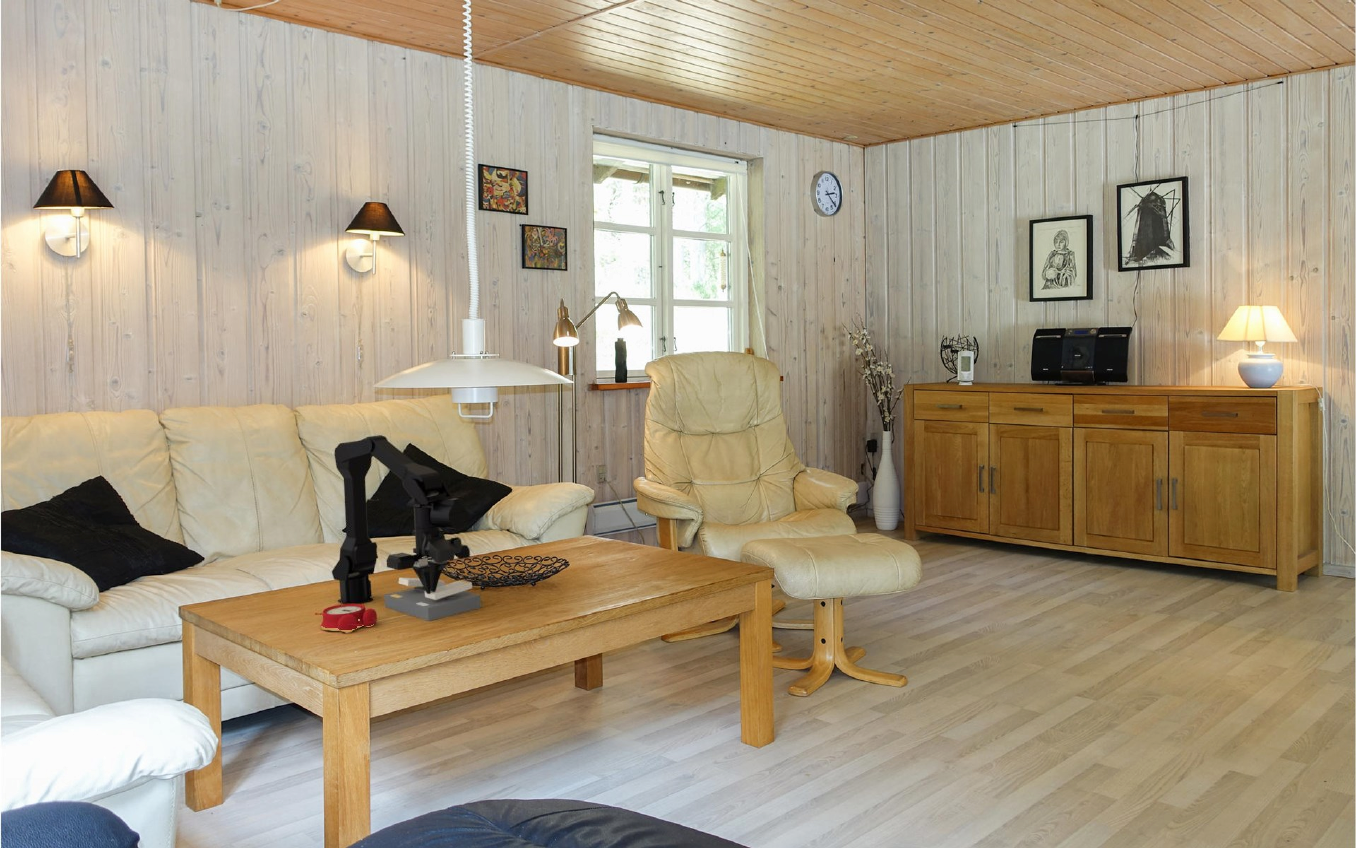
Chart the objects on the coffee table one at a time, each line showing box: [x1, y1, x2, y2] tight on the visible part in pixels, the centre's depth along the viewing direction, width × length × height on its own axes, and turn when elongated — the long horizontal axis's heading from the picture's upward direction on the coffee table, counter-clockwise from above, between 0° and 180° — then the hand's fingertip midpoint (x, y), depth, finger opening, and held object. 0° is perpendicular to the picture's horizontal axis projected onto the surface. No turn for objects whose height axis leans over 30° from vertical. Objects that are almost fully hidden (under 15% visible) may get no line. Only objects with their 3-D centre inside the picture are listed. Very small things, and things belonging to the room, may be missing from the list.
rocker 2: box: [425, 579, 473, 600], centre depth 238 cm, size 10×4×2 cm, turn 134°
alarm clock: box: [314, 603, 378, 630], centre depth 228 cm, size 10×6×15 cm
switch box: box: [383, 586, 482, 622], centre depth 242 cm, size 14×20×4 cm
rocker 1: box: [398, 577, 446, 587], centre depth 247 cm, size 10×4×2 cm, turn 134°
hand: (430, 593), depth 235 cm, fingers closed, pressing on rocker 2
